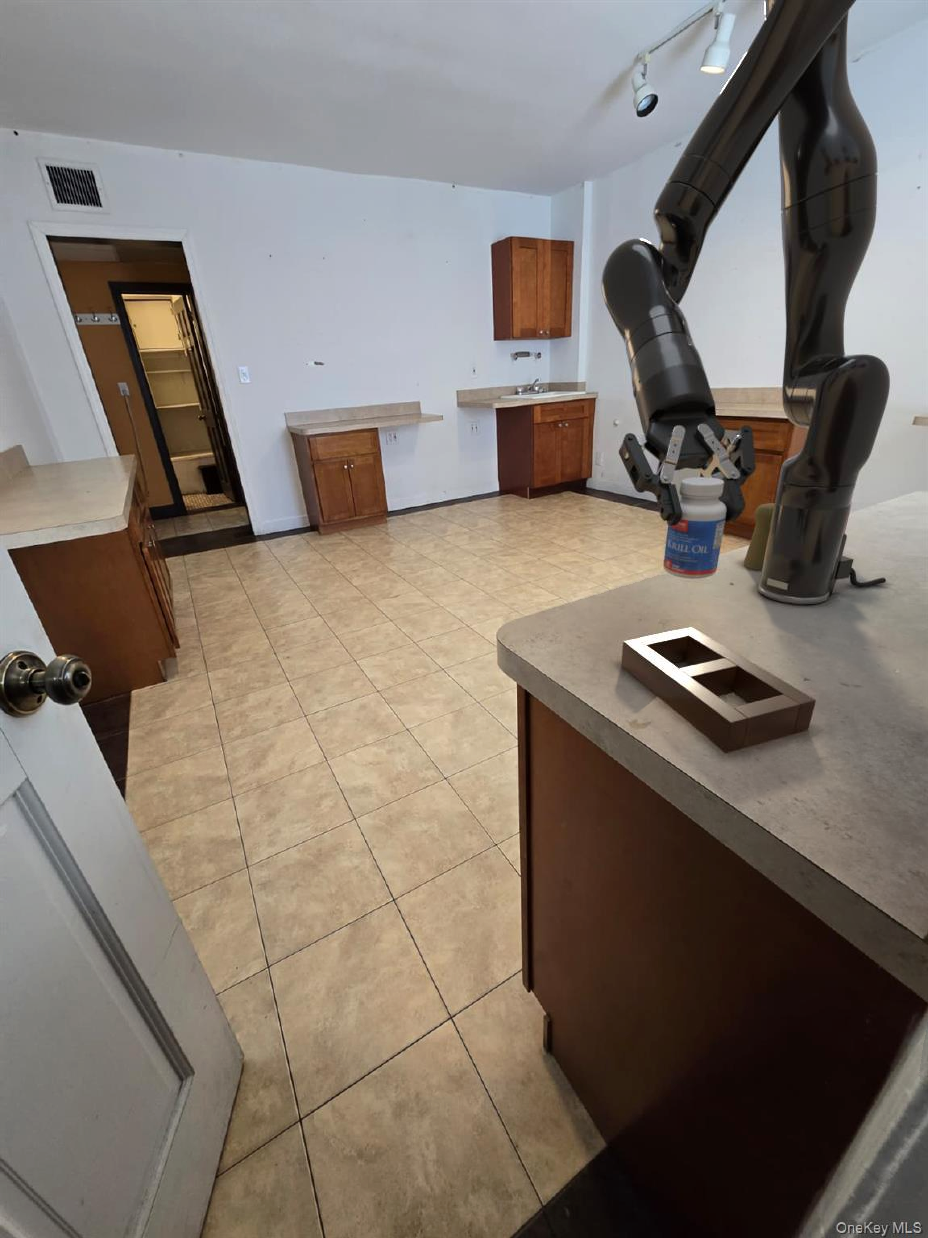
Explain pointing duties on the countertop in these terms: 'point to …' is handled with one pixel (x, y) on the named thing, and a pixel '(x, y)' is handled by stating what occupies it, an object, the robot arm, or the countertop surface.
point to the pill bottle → (696, 530)
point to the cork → (759, 537)
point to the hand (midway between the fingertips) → (705, 519)
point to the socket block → (717, 689)
